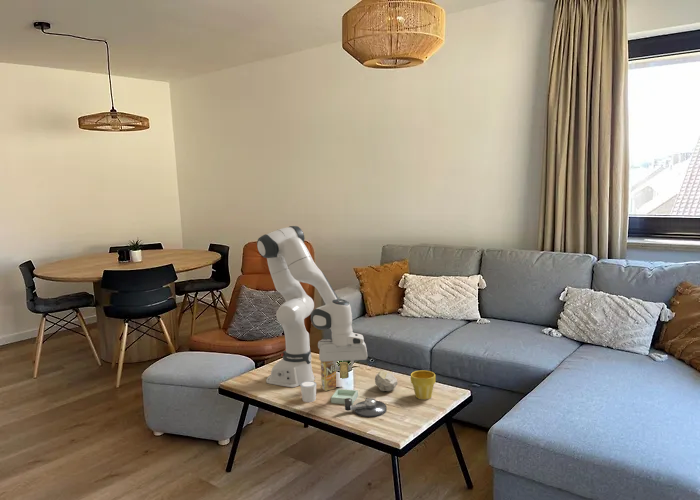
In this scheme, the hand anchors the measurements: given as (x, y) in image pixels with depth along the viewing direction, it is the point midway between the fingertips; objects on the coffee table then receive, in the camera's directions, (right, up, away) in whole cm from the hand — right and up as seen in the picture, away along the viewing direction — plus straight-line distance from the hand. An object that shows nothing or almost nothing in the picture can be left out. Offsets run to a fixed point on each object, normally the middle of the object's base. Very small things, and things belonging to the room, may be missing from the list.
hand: (344, 370), depth 220 cm
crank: (+7, -13, -10) cm, 18 cm away
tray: (0, -13, +2) cm, 13 cm away
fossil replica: (+18, -11, +11) cm, 24 cm away
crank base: (+11, -14, -9) cm, 20 cm away
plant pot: (+34, -12, +2) cm, 36 cm away
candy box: (-5, -11, +15) cm, 19 cm away
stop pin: (0, -3, 0) cm, 3 cm away
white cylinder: (-15, -13, +3) cm, 20 cm away
